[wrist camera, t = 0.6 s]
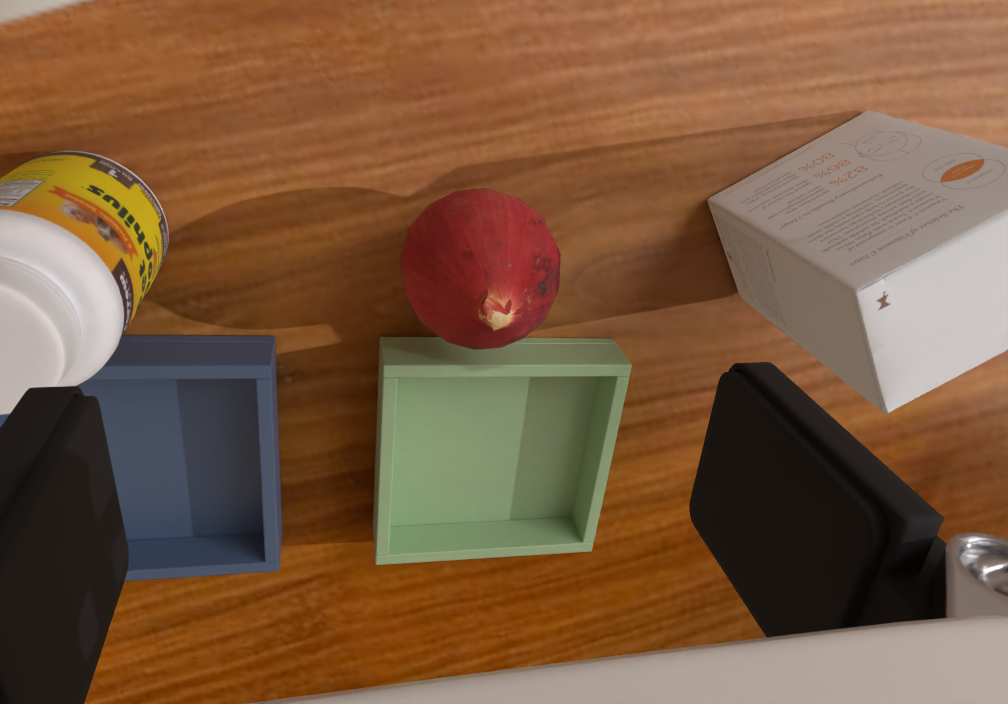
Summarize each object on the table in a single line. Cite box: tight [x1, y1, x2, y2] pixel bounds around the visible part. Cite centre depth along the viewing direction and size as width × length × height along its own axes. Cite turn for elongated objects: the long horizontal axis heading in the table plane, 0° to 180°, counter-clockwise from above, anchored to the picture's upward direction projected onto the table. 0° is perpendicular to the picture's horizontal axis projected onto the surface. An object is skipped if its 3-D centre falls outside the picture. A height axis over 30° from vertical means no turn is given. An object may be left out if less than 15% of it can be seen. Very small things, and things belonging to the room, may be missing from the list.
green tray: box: [373, 337, 632, 565], centre depth 34 cm, size 11×11×3 cm
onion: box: [401, 188, 560, 350], centre depth 27 cm, size 6×6×8 cm
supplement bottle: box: [0, 151, 168, 415], centre depth 23 cm, size 6×6×10 cm
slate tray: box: [0, 335, 282, 581], centre depth 31 cm, size 11×11×3 cm
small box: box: [707, 110, 1008, 414], centre depth 28 cm, size 8×6×10 cm
